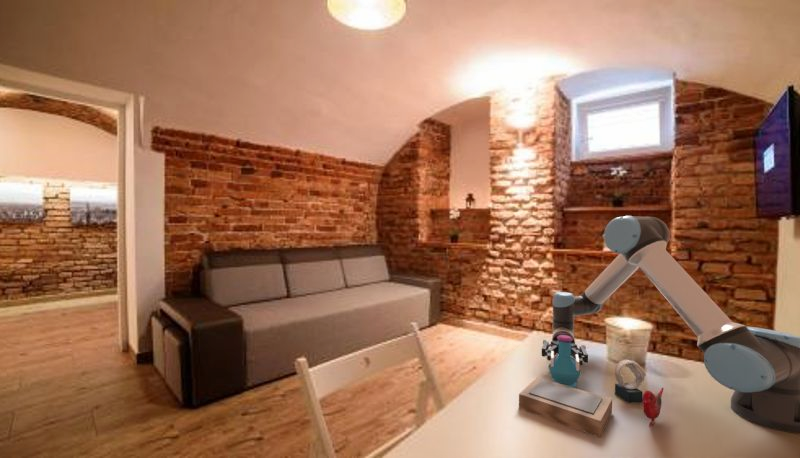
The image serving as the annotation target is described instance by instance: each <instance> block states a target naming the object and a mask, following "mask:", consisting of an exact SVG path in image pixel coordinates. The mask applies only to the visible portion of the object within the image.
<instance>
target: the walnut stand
mask: <svg viewBox="0 0 800 458" xmlns="http://www.w3.org/2000/svg"><path fill="white" fill-rule="evenodd" d="M518 409H520V410H523V411H525V412H527V413H531V414H534V415H537V416H540V417H542V418H545V419H548V420H550V421H553V422H556V423H560V424H561V425H564V426H568V427H570V428H573V429H575V430H579V431H582V432H584V433H587V434H590V435H593V436H595V437H598V438H601V437H602V436H603V433H604V431H605V429H606V426H607V425H608V423H609V421H610V418H611V417H612V415H613V398H611V397H606V396H603V395H600V394H597V393H593V392H590V391H586V390H582V389H579V388H577V387H574V388H573V387H569V386H566V385H563V384H559V383H556V382H553V380H549V379H545V378H541V377H538V376H536V378H534V380H532V381H531V382H530V383H529V384H528V385H527V386H526V387H525V388H524V389H523V390H522V391H520V392H519V393H518Z"/></svg>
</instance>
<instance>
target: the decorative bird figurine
mask: <svg viewBox="0 0 800 458" xmlns="http://www.w3.org/2000/svg"><path fill="white" fill-rule="evenodd" d="M664 389H665V388H664V387H661V389H660V390H659V391H658V393H653V392H652V391H650V390H645V391H643V403H642V411H643V413H644V415H645V417H646V418H647V419H649V420H650V422H649V425H648V428H650V427H652V426H653V425H654V424H655V420H656V419H657V418H658V417H659V415H660V413H661V409H662V403H663V402H662V396H663V393H664Z"/></svg>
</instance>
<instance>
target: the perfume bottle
mask: <svg viewBox="0 0 800 458" xmlns="http://www.w3.org/2000/svg"><path fill="white" fill-rule="evenodd" d="M557 339H558V341H559V353H558V354H557V356H556V357H555V358H554V367H552V366H551V363H550V364H548V370H549V374H550V375H551V379H552V382H556V383H559V384H563V385H566V386H569V387H573V388H576V386H577V384H576V383H577V382H578V380H579V378H580V376H581V371H582V370H581V369H580V368H579V371H577V370H576V364H575V361H574V358H573V357H572V356H571V343H572V340H573V339H572V338H571V337H570V336H567V335H559V336H558V337H557Z"/></svg>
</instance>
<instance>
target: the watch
mask: <svg viewBox="0 0 800 458" xmlns="http://www.w3.org/2000/svg"><path fill="white" fill-rule="evenodd" d="M625 366H628V368H629V370H630V371H631V373H633V375H634V377H635V379H634V380H633V381H632V383H630V382H624V379H623V376H622V373H621V372H622V370H623V368H624V367H625ZM646 374H647V373H646V371H645V369H643V367H642V366H641V365H640V364H639V363H638V362H636V361H635V360H630V359H621V360H620V361H618V363H616V364H615V367H614V378H615V380H616V382H617V383H614V395H616V396H617V397H619V398H620V399H621V400H623V401H625V402H626V403H628V404H638V403H639V404H640V403H642V404H643V394H644V391H642V390H641V389H639V387H640V386H641V385H642V383H643V382H644V381H645V377H646Z"/></svg>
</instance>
